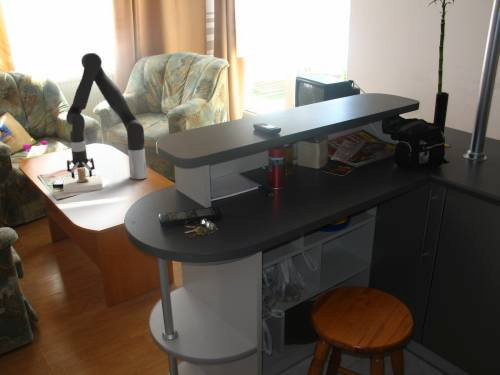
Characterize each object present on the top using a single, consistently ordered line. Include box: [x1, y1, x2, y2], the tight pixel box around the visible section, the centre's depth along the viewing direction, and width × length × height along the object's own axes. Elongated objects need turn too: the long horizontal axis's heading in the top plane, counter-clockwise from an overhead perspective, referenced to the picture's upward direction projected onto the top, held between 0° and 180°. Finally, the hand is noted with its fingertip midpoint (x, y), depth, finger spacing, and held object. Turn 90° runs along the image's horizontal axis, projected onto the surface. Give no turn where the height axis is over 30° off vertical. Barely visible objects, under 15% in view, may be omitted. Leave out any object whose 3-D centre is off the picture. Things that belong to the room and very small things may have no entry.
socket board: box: [62, 174, 104, 194], centre depth 275 cm, size 20×16×3 cm
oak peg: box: [76, 167, 87, 183], centre depth 274 cm, size 4×4×10 cm
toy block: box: [22, 140, 48, 150], centre depth 337 cm, size 15×6×8 cm, turn 138°
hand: (82, 177), depth 273 cm, fingers open, 8 cm apart
